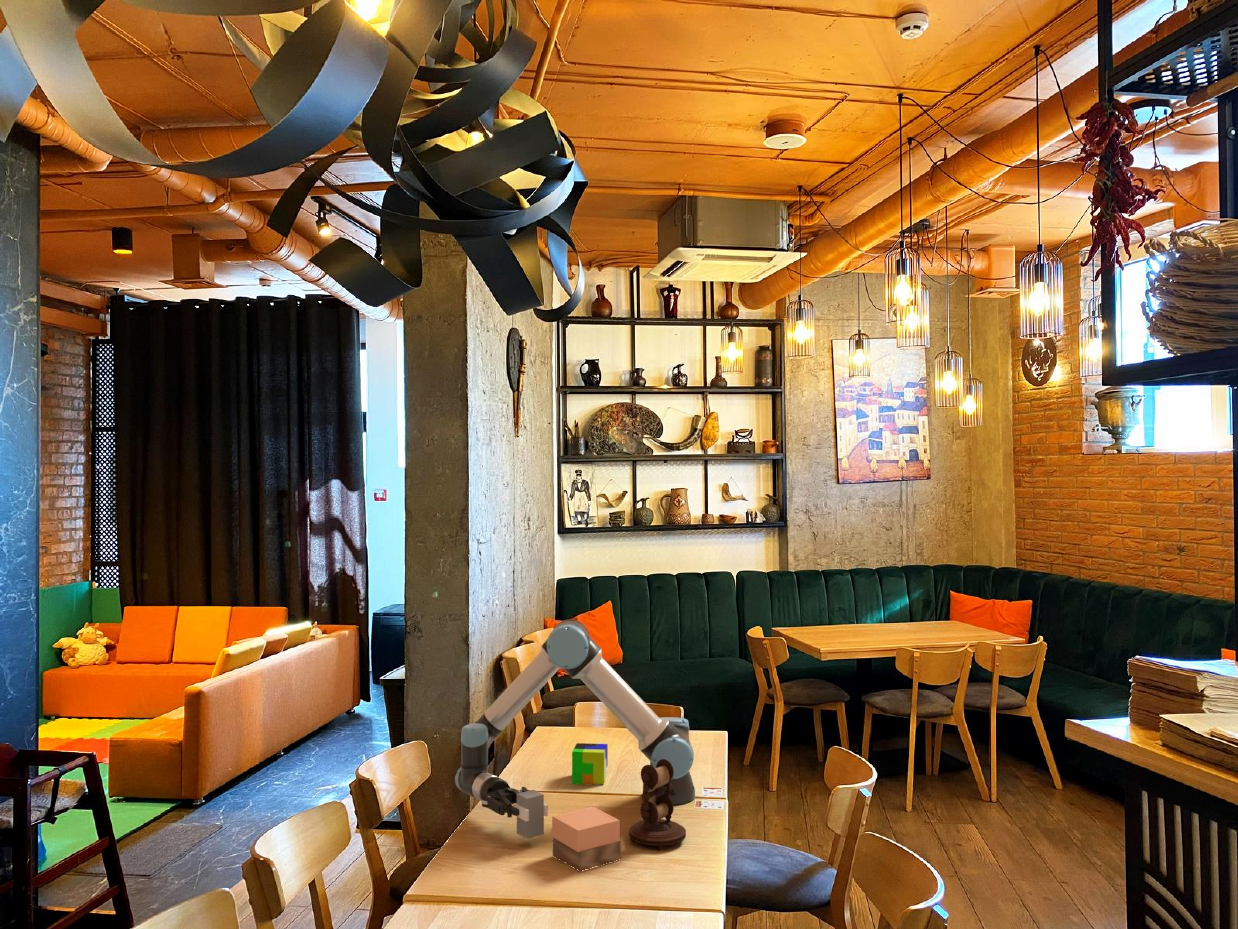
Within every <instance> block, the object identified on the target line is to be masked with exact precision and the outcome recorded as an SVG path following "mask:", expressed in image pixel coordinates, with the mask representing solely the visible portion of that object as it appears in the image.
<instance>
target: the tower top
mask: <svg viewBox="0 0 1238 929" xmlns="http://www.w3.org/2000/svg"><path fill="white" fill-rule="evenodd" d="M551 818H552V820H551V821H552V822H551V826H552V827H551V831H552V832H551V836H552V838H553V837H554V838H555V839H557V840H559V841H560V842H562V843H564V844H565V845H567V846H569V847H570V848H572V849H574V850H575V851H577V852H581V851H584V850H588V849H592V848H595V847H599V846H603V845H607V844H610V843H614V842H618V841H620V840H621V836H620V834H621V832H620V831H621V828H620V827H621V825H620V823H621V821H620V819H618V818H616V817H614V816H613V815H610V814H608V813H606V812H605V811H603V810H600V809H599V808H596V807H594V806H590V807H585V808H582V809H577V810H572V811H568V812H563V813H560V814H556V815H552V816H551Z"/></svg>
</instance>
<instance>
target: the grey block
mask: <svg viewBox="0 0 1238 929" xmlns="http://www.w3.org/2000/svg"><path fill="white" fill-rule="evenodd" d="M544 798H545V796H544V794H543V793H542V792H539V791H537V790H535V789H532V790H530V791H526V792H522V793H518V794H517V804H518V805H520V806H522V807H524V808H526V809H528V810H529V821H524V820H522V819H520V818H519V817H517V816H516V834H517V835H519V836H521V837H522V838H524V839H526V840H529V839H532V838H535V837H540V836H543V835H545V826H544V825H545V816H544V803H545V802H544V801H545V799H544Z"/></svg>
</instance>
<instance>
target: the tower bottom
mask: <svg viewBox="0 0 1238 929" xmlns="http://www.w3.org/2000/svg"><path fill="white" fill-rule="evenodd" d="M621 841H622V840H621V839H620V841H618V842H614V843H610V844H607V845H603V846H599V847H595V848H592V849H588V850H584V851H581V852H577V851H575V850H574V849H572V848H570V847H569V846H567V845H565V844H564V843H562V842H560V841H559V840H557V839H555V838H554V837H552V857H553V856H554V857H556V858H557V859H556V858H555V859H556V860H558V859H560V860H561V861H563V862H566V863H567V864H568V865H570V866H572V867H574V868H575V869H578V870H579V871H582V870H585V869H590V868H592V867H595V866H600V867H602V866H601V865H603V864H606V863H609V862H613V863H615V862H614V861H616V860H619V859H621V860H622V842H621ZM554 857H553V858H554ZM561 861H560V862H561ZM563 862H562V863H563ZM616 862H617V861H616ZM568 865H567V866H568ZM570 866H569V867H570ZM572 867H571V868H572ZM575 869H574V870H575ZM579 871H578V872H579Z"/></svg>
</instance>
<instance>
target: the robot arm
mask: <svg viewBox="0 0 1238 929" xmlns="http://www.w3.org/2000/svg"><path fill="white" fill-rule="evenodd" d="M540 647H541V649H540V652H539V653H538V654H537V655H536V656H535V657H534V658H533V659H532V660H531V661H530V663H528V665H527V666H526V667H524V669H523V670H522V671H521V672H520V673H519V675H518V676H517V677H516V678H515V679H514V680H513V681H512V682H511V683H510V684H509V685H508V686H507V687H506V689H505V690H504V691H503V692H502V693H501V694H500V695H499V696H498V697H497V699H495V701H494V702H493V703H492V704H491V705H490V706H489V707H488V708H487V709H486V711H485V712H483V714H482V715H481V716H480V717H479V718H478V719H477V720H476V721H475V722H474V723H468V724H466V725H464V726H462V727H461V734H460V735H461V736H460V743H461V744H460V748H461V749H460V751H461V754H460V755H461V758H460V760H461V762H460V765H461V766H460V767H459V768H458V769H457V771H456V774H455V775H454V776H455V777H454V782H455V785H456V788H458V789H459V790H460V791H461V792H462V793H463V794H465V795H467V796H470V797H472V798H474V799H476V800H478V801H480V802H481V807H483V808H486V809H489V810H490V811H492V812H494V813H496V814H498V815H499V816H505V814H507V818H512V817H513V816H514V817H516V818H517V817H519V818H520V819H522V820H524V821H529V810H528V809H526V808H524V807H522V806H520V805H518V804H517V794H518V793H522V792H526V791H530V790H529V789H527V787H526V786H521V788H520V790H517V789H515V788H512V787H510V785H509V783H508V782H507V780H505V779H503V778H500V777H498V776H497V775H494V774H492V773H490V772H488V771H489V759H488V758H489V748H490V746H491V744H493V742H494V741H495V740H496V739H497V737H498V736H499V735H500V734H501V733H502V731H504V730H505V729H506V727H507V726H508V725H509V724H510V723H511V722H512V721H513V720H514V719H515V717H517V715H518V714H519V713H520V712H521V711H522V710H523V709H524V708H525V707H526V706H527V705H528V703H529V702H531V700H532V699H533V698H534V697H535V696H536V695H537V693H538V692H540V690H542V688H543V687H544V686H545V685H546V684H547V683H548V682H549V680H551V678H552V677H553V676H554V675H555V674H556V673H557V672H558V671H559V670H560V669H563V670H564V671H565V672H566V673H567V675H569V677H570V678H571V679H579V680H581V681H582V682H583V683H584V684H585V686H586V687H587V688H588V689H589V690H590V691H591V692H592V693H593V694H594V695H595V696H596V697H597V698H598V700H600V701H601V703H602V704H603V705H604V706H605V707H606V708H607V709H608V710H609V711H610V712H611V713H612V714H613V715H614V716H615V717H616V719H618V720H619V722H620V723H621V724H622V725H623V726H624V727H625V728H626V729H627V730H628V731H629V732H630V733H631V734H632V736H634V737H635V739H636V740H637V741H638V750H639V751H640V752H641V753H642V754H643V755H644V756H645V757H646V758H647V759H648V761H649V765H651V766H653V767H654V768H656V765H657V763H658V761H659V760H661V759H666V760H668V761H669V762H670V763H671V764H672V766H673V770H674V774H673V777H672V779H671V782H670V783H671V784H672V790H671V792H670V796H671V801H672V803H673V806H674V805H682V804H687V803H691V802H692V801H694V800H695V798H696V788H695V786H694V783H693V778H692V775H691V769H692V766H693V764H694V758H695V753H694V749H693V747H692V744H691V742H690V724H689V720H688V719H686V718H683V717H672V716H671V717H667V716H664V717H659V716H658V715H657V713H655V711H654V710H653V709H652V708H650V707H649V705H647V703H646V702H645V701H644V700H643V699H642V698H641V697H640V695H638V694H637V692H635V691H634V690H633V688H632V687H631V686H630V685H629V684H628V683H627V682H626V681H625V680H624V679H623V678H622V677H621V675H620V674H618V673H617V672H616V670H615V669H614V668H613V667H612V666H611V665H610V664H609V663H608V662H607V661H606V660H605V659H604V657H603V654H602V652H603V651H602V650H603V649H602V648H601V646H599V645H598V644H597V643H596V642H595V640H594V639H593V638H592V637H591V635H590V632H589V629H588V628H587V626H586V625H585V624H584V623H583V622H581V621H579V620H577V619H572V618H569V619H565V620H562V621H559V623H557V624H556V625H555V627H554V628H553V629H552V630H551V632H550V633H549V635H548V637H547V639H546V640H545V641H544V642H543V644H541V646H540ZM662 786H664V785H662ZM662 786H660V787H657V788H661V787H662ZM660 795H666V792H662V793H661V794H659V795H656V796H655V804H656V800H657V798H658V797H659V796H660ZM548 816H549V805H548V804H546V803H545V802H544V817H548Z"/></svg>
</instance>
